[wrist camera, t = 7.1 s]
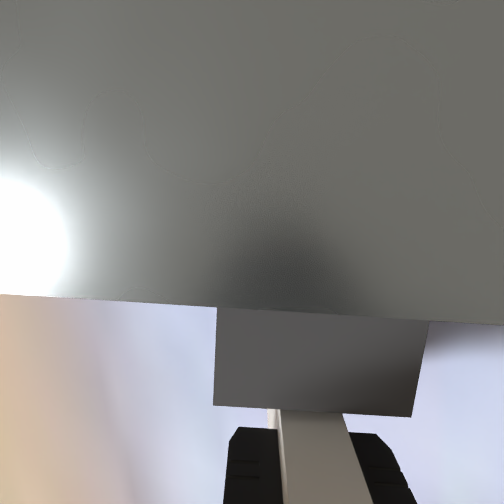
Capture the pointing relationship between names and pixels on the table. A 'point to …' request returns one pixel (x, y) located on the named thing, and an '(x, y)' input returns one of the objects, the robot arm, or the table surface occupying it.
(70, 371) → the table surface
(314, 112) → the frame
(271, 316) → the two-tone upright block
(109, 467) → the table surface
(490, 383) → the table surface
